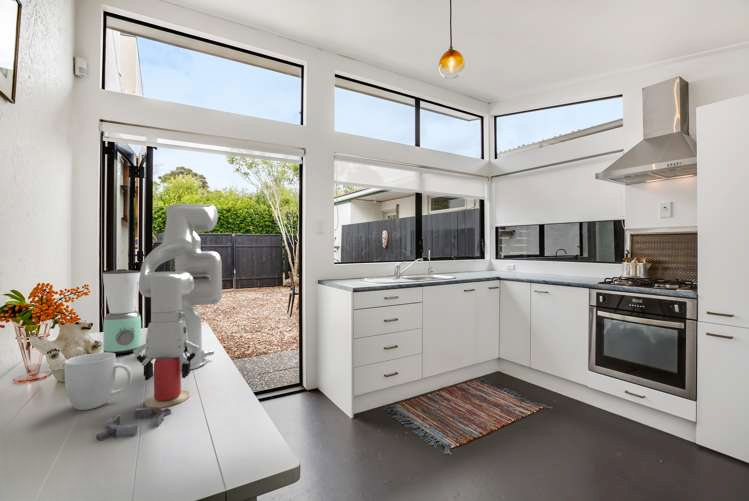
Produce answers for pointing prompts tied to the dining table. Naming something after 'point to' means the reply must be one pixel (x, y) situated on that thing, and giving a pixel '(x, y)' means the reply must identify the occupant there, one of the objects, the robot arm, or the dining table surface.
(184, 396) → the disc
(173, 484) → the dining table surface
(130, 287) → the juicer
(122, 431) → the collar
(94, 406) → the mug
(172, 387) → the beer can
